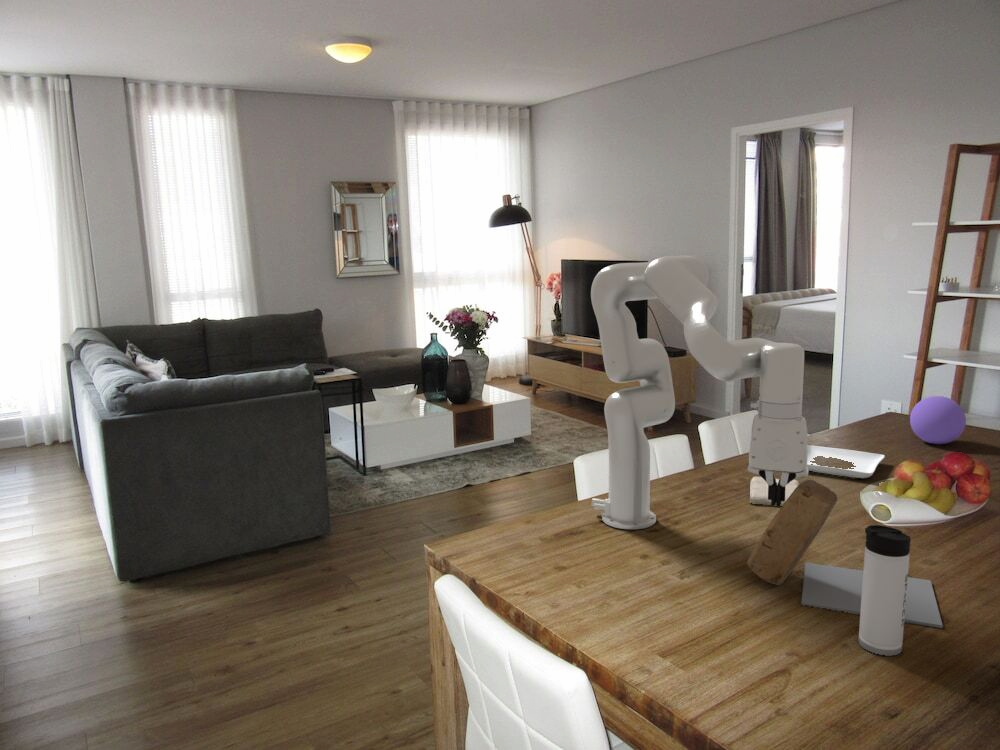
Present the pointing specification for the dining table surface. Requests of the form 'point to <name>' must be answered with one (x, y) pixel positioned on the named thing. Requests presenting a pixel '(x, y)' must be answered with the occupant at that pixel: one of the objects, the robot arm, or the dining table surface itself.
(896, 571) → the travel mug
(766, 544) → the block
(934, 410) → the decorative ball
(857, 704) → the dining table surface
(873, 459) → the salad plate
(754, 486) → the washcloth
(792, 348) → the robot arm
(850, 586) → the mat
